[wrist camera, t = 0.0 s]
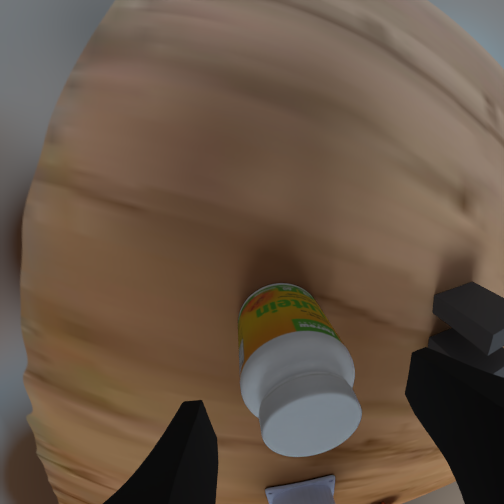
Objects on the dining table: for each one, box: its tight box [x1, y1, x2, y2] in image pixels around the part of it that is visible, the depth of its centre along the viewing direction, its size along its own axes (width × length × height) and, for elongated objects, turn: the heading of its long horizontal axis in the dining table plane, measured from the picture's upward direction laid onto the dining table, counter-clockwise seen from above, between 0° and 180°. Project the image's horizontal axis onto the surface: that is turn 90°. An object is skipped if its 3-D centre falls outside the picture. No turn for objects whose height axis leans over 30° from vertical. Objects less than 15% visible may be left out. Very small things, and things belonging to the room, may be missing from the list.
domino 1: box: [432, 282, 504, 355], centre depth 16 cm, size 2×5×7 cm, turn 99°
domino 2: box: [428, 328, 504, 377], centre depth 17 cm, size 2×5×7 cm, turn 99°
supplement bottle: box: [238, 283, 362, 457], centre depth 14 cm, size 5×5×10 cm
